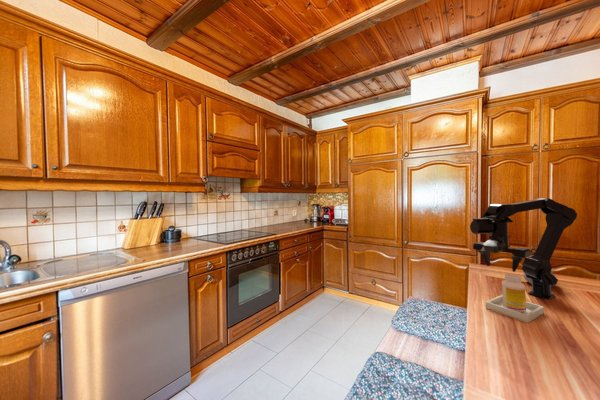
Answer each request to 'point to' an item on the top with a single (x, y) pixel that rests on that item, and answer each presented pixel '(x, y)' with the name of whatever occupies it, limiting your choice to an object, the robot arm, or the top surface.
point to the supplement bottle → (513, 293)
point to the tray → (527, 316)
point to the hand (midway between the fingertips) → (500, 268)
